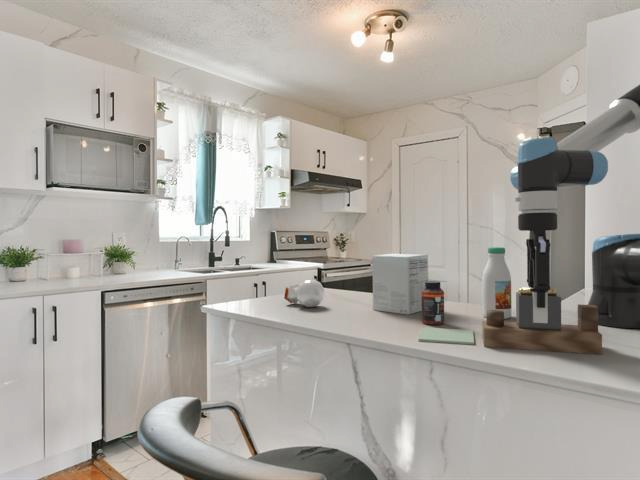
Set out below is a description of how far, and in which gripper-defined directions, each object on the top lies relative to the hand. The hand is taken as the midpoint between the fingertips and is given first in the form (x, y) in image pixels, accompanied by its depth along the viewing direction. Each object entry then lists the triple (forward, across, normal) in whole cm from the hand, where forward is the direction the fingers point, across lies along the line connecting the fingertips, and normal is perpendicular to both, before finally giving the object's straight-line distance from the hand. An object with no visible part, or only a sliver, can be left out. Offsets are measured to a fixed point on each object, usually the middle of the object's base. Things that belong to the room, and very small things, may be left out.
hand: (537, 319), depth 93 cm
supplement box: (+6, -35, -34) cm, 49 cm away
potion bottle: (+6, -33, -66) cm, 74 cm away
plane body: (+6, 0, 0) cm, 6 cm away
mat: (+6, -3, -19) cm, 20 cm away
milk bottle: (+6, -30, -6) cm, 31 cm away
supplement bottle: (+6, -17, -23) cm, 29 cm away
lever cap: (+2, 0, 0) cm, 2 cm away
